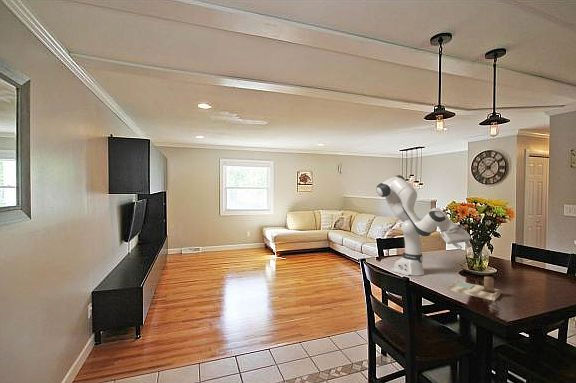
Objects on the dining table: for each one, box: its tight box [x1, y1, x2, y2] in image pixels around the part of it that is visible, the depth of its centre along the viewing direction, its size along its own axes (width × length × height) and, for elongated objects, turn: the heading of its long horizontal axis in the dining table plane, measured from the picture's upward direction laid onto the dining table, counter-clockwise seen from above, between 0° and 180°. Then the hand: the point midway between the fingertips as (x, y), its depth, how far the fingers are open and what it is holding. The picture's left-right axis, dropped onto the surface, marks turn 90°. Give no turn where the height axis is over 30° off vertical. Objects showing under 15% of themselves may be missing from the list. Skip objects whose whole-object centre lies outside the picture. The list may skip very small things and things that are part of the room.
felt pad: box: [455, 281, 474, 289], centre depth 165 cm, size 8×8×1 cm
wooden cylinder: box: [483, 276, 495, 294], centre depth 156 cm, size 4×4×10 cm
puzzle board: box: [448, 280, 502, 302], centre depth 161 cm, size 22×14×2 cm, turn 42°
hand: (465, 247), depth 167 cm, fingers open, 8 cm apart
